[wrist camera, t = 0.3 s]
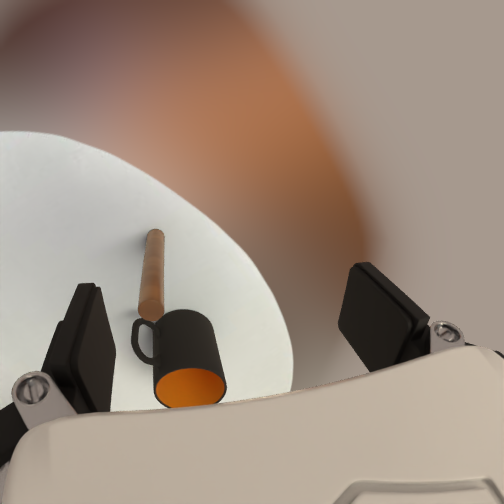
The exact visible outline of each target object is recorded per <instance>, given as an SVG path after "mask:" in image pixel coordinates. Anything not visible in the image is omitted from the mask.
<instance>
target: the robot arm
mask: <svg viewBox="0 0 504 504" xmlns="http://www.w3.org/2000/svg"><path fill="white" fill-rule="evenodd" d="M429 319H430V317H429V316H428V315H427V314H426V313H425V312H424V311H423V310H422V309H421V308H420V307H419V306H418V305H416V303H414V302H413V301H412V300H411V299H410V298H409V297H408V296H407V295H405V293H404V292H402V291H401V290H400V289H399V288H398V287H397V286H396V285H395V284H394V283H392V282H391V281H390V280H389V279H388V278H387V277H386V276H384V274H382V273H381V272H380V271H379V270H378V269H377V268H376V267H374V266H373V265H372V264H371V263H370V262H362V263H356V264H354V266H353V267H352V268H351V269H350V272H349V276H348V281H347V286H346V290H345V295H344V299H343V304H342V308H341V312H340V316H339V320H338V327H339V330H340V331H341V332H342V334H343V335H344V337H345V338H346V339H347V341H348V342H349V344H350V345H351V346H352V348H353V349H354V351H355V352H356V353H357V355H358V356H359V358H360V359H361V360H362V362H363V363H364V364H365V366H366V367H367V369H368V370H369V372H370V373H367V374H363V375H360V376H356V377H352V378H348V379H344V380H340V381H336V382H332V383H329V384H324V385H320V386H315V387H312V388H306V389H302V390H297V391H292V392H287V393H282V394H276V395H271V396H265V397H259V398H253V399H246V400H240V401H233V402H226V403H218V404H210V405H201V406H191V407H179V408H167V409H153V410H135V411H116V412H110V406H111V394H112V384H113V375H114V366H115V358H116V348H115V343H114V340H113V336H112V332H111V329H110V325H109V321H108V317H107V313H106V309H105V305H104V301H103V296H102V292H101V288H100V287H96V286H95V284H94V283H81V284H78V286H77V288H76V290H75V293H74V295H73V298H72V300H71V302H70V305H69V307H68V310H67V312H66V315H65V318H64V320H63V321H60V322H59V323H58V325H57V327H56V330H55V333H54V335H53V338H52V341H51V343H50V346H49V349H48V352H47V354H46V357H45V360H44V363H43V366H42V369H41V372H39V371H34V372H29V373H26V374H24V375H22V376H21V377H20V378H18V380H17V381H16V382H15V383H14V385H13V388H12V398H13V401H14V402H12V403H11V404H9V405H8V406H6V407H5V408H3V409H2V410H0V504H504V355H503V354H502V353H500V352H498V351H493V350H491V349H489V348H486V347H481V346H476V345H473V344H469V343H466V342H465V341H464V335H463V333H462V331H461V330H460V329H459V328H458V327H457V326H455V325H454V324H451V323H449V322H446V321H436V322H433V323H432V324H431V326H430V327H429V326H428V325H427V323H428V321H429Z"/></svg>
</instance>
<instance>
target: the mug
mask: <svg viewBox="0 0 504 504" xmlns="http://www.w3.org/2000/svg"><path fill="white" fill-rule="evenodd" d="M142 324H144V325H147V326H148V327H150V328H151V329H152V330H153V358H149V357H147V356H145V355H144V354H143V352H142V351H141V349H140V347H139V344H138V333H139V326H140V325H142ZM131 344H132V348H133V350H134V352H135V354H136V355H137V357H138V358H139V359H140V360H141V361H143V362H144V363H146V364H149V365H153V385H154V395H155V397H156V399H157V400H158V401H159V402H160V403H161V404H162V405H164V406H165V407H167V408H179V407H191V406H201V405H210V404H217V403H219V402H220V401H221V400H222V398H223V397H224V396H225V393H226V390H227V385H226V380H225V376H224V372H223V368H222V364H221V360H220V355H219V351H218V347H217V343H216V339H215V334H214V330H213V327H212V324H211V322H210V321H209V320H208V319H207V318H206V317H205V316H204V315H202V314H200V313H198V312H196V311H192V310H175V311H172V312H169V313H167V314H165V315H164V316H162V317H161V318H160V319H159V320H158V321H157V323H156V324H154V323H153V322H151V321H147V320H145V319H143V318H139V319H137V320H135V321H134V323H133V326H132V335H131Z"/></svg>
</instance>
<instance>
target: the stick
mask: <svg viewBox="0 0 504 504" xmlns="http://www.w3.org/2000/svg"><path fill="white" fill-rule="evenodd" d="M164 239H165V236H164V233H163V232H162V231H161V230H159V229H153V230H151V231H150V232H149V233H148V235H147V241H146V247H145V254H144V261H143V269H142V277H141V285H140V294H139V303H138V313H139V315H140V316H141V317H142V318H143V319H145V320H147V321H156V320H159V319H160V318H161V317H162V316H163V314H164Z"/></svg>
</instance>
